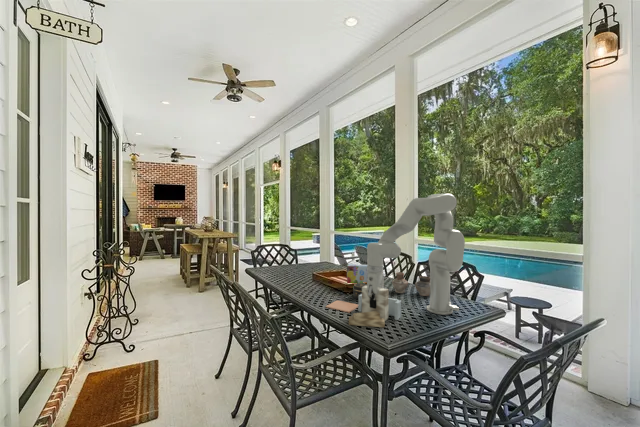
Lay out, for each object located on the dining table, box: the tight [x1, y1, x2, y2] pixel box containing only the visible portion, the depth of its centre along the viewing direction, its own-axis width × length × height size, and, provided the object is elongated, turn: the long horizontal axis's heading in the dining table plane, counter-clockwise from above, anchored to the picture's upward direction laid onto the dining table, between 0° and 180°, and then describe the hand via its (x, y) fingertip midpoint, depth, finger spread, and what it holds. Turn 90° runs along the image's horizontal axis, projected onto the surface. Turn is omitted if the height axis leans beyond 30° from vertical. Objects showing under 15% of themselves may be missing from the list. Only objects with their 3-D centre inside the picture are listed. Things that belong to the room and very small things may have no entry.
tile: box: [325, 300, 358, 314], centre depth 161 cm, size 14×12×1 cm
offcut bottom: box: [348, 315, 386, 328], centre depth 138 cm, size 16×4×3 cm, turn 81°
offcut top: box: [352, 311, 380, 322], centre depth 138 cm, size 12×3×2 cm, turn 106°
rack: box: [357, 294, 402, 321], centre depth 151 cm, size 20×5×8 cm, turn 57°
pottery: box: [391, 271, 430, 297], centre depth 185 cm, size 11×25×12 cm, turn 70°
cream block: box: [361, 285, 390, 322], centre depth 145 cm, size 12×4×14 cm, turn 57°
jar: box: [352, 283, 367, 301], centre depth 175 cm, size 10×10×8 cm
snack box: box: [346, 263, 368, 284], centre depth 195 cm, size 21×6×15 cm, turn 84°
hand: (375, 305), depth 145 cm, fingers closed on cream block, 4 cm apart
